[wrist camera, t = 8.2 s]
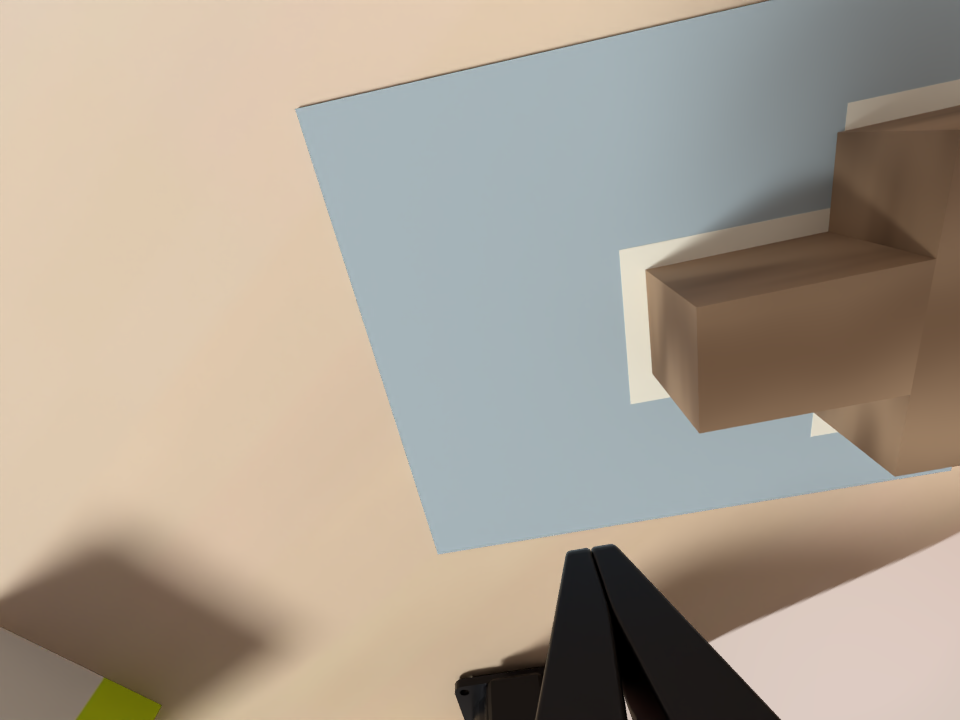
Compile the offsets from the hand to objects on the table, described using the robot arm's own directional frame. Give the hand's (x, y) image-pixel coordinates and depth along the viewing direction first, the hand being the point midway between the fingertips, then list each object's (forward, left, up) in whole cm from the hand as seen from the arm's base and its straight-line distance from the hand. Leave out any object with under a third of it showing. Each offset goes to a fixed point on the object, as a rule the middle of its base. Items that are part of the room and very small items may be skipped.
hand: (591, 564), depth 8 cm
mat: (0, -5, -10) cm, 11 cm away
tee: (0, -9, -10) cm, 14 cm away
